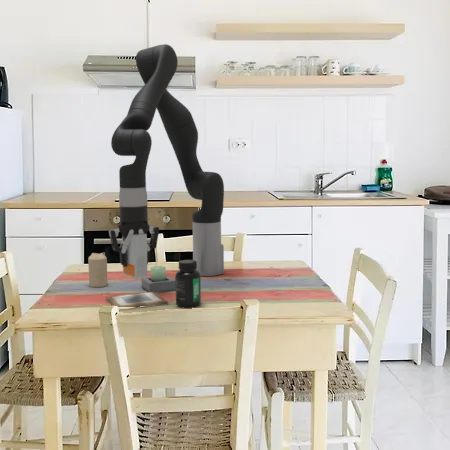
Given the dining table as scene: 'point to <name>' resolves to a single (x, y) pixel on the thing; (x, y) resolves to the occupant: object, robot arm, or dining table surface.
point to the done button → (158, 273)
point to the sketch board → (137, 300)
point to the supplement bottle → (188, 284)
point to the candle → (97, 270)
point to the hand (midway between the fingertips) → (135, 265)
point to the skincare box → (136, 257)
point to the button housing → (158, 285)
